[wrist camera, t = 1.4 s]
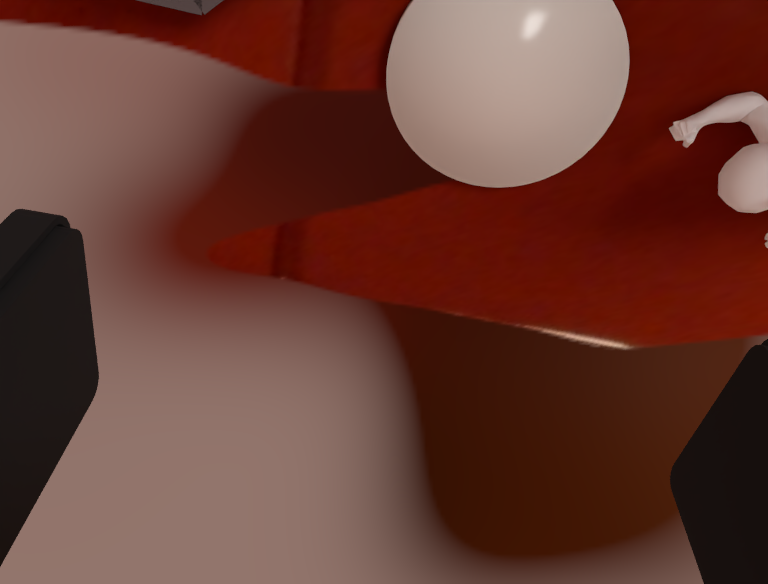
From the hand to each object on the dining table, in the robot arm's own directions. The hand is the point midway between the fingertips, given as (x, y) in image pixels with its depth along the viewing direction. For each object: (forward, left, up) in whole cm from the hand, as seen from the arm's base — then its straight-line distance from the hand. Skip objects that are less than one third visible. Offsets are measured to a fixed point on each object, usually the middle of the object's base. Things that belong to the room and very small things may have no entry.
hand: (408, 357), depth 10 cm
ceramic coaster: (+5, +5, -28) cm, 29 cm away
